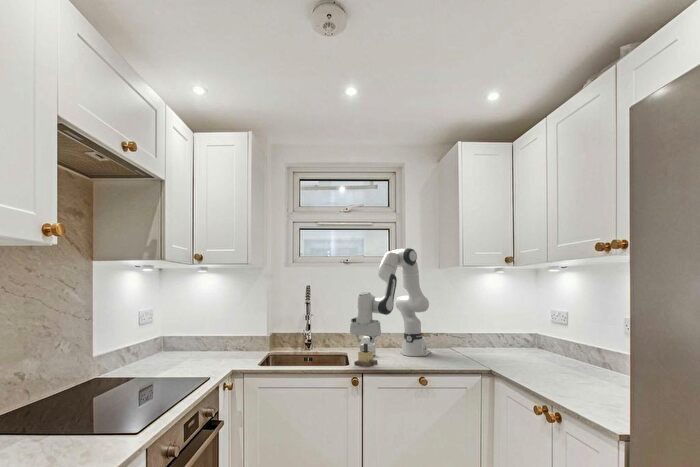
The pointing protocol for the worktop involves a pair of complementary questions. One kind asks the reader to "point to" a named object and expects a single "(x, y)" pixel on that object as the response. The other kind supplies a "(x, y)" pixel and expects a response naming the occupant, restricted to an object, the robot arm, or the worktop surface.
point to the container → (370, 346)
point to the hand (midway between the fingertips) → (365, 342)
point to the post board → (363, 363)
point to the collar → (365, 356)
